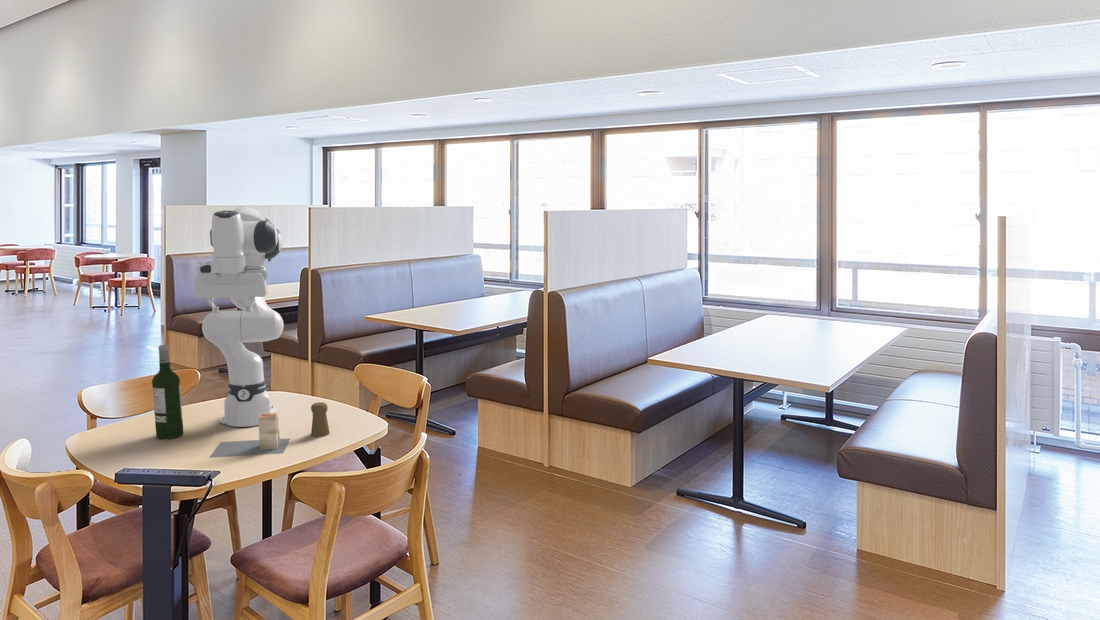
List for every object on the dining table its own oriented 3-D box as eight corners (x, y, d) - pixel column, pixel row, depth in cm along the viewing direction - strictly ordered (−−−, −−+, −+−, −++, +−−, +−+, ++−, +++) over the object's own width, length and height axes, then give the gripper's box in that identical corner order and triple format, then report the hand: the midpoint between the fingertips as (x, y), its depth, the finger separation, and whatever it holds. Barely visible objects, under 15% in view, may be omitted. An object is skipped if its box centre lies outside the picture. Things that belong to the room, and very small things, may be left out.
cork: (309, 439, 239) (308, 406, 237) (311, 433, 245) (310, 401, 243) (329, 438, 240) (327, 405, 238) (330, 432, 246) (329, 400, 244)
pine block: (263, 444, 232) (261, 413, 230) (279, 443, 233) (278, 412, 231) (260, 449, 227) (258, 418, 225) (277, 448, 228) (275, 417, 226)
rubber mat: (220, 443, 234) (220, 442, 234) (290, 440, 238) (290, 438, 238) (209, 459, 220) (209, 457, 220) (283, 455, 224) (283, 453, 224)
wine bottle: (151, 437, 239) (143, 346, 235) (173, 430, 246) (166, 342, 242) (166, 441, 236) (159, 349, 231) (188, 434, 243) (182, 344, 238)
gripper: (268, 264, 224) (271, 309, 226) (196, 265, 220) (199, 311, 222) (264, 266, 218) (267, 313, 220) (190, 267, 214) (193, 314, 216)
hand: (232, 312), depth 221 cm, fingers open, 8 cm apart
